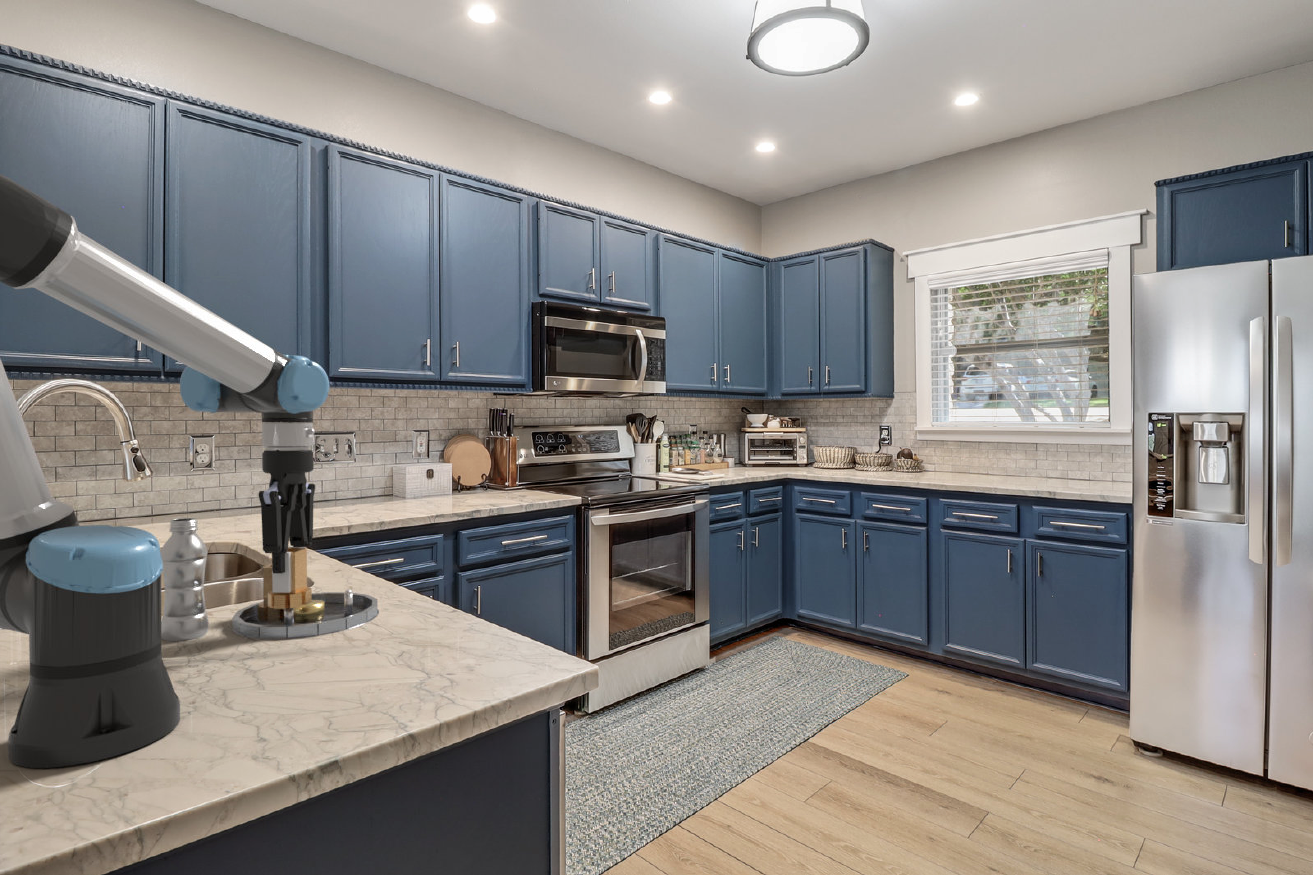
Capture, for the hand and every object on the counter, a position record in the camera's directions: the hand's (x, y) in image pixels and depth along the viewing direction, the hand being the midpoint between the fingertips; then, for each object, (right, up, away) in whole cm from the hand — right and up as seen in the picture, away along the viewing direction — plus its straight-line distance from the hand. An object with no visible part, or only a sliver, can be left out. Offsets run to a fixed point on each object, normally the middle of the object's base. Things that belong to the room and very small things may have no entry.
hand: (289, 588), depth 114 cm
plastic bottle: (-15, -8, -3) cm, 18 cm away
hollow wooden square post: (0, -3, 0) cm, 3 cm away
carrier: (0, -8, +7) cm, 10 cm away
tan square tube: (-6, -7, +8) cm, 12 cm away
